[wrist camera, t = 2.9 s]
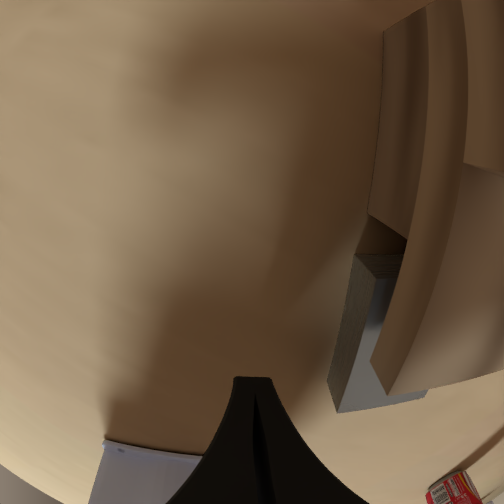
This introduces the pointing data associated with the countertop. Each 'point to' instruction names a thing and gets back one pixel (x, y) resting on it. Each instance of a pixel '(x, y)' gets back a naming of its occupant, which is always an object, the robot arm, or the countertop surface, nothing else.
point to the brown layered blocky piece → (443, 194)
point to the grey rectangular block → (364, 335)
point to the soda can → (453, 490)
